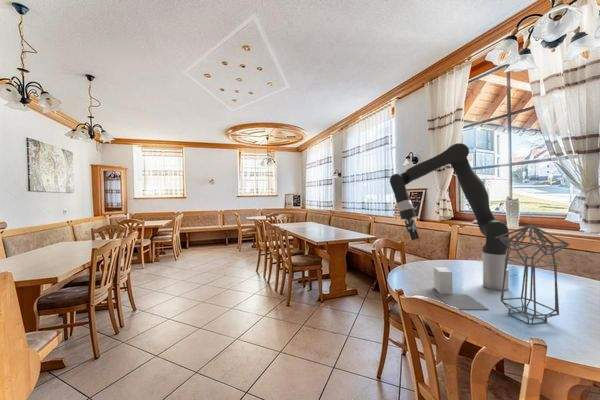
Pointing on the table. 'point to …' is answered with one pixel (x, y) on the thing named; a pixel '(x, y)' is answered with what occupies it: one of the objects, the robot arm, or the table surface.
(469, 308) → the mat
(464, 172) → the robot arm
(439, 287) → the small box
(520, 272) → the table surface
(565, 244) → the geometric lantern
